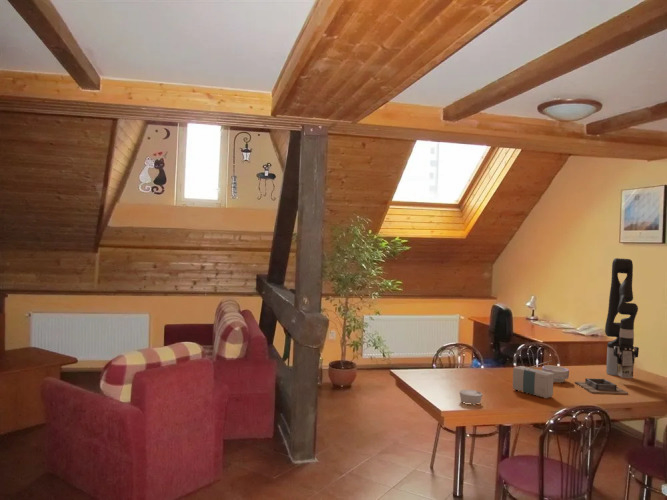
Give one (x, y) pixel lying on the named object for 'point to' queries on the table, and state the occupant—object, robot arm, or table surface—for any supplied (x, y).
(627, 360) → the coffee box
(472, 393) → the ramekin
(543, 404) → the table surface
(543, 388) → the stereo radio cassette player
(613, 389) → the collar board
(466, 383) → the table surface
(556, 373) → the paper bowls
